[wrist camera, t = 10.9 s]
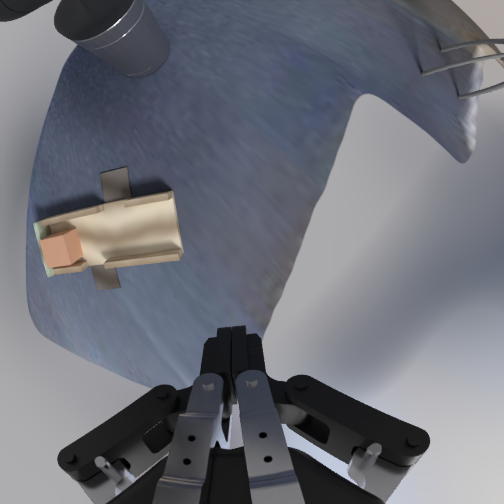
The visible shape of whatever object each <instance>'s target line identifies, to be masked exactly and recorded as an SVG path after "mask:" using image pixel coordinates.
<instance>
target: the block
mask: <svg viewBox="0 0 504 504" xmlns="http://www.w3.org/2000/svg"><path fill="white" fill-rule="evenodd" d="M40 245H41V249H42V252H43V256H44V259H45V262H46V266H47V268H53V267H59V266H66V265H71V264H73V263H74V262H75V261H77V260H78V259H80V258H81V257H82V256H84V255H83V251H82V247H81V243H80V240H79V236H78V231H77V228H75V229H70V230H66V231H62V232H58V233H53V234H51V235H49V236H48V237H46V238H44V239H42V240H40Z"/></svg>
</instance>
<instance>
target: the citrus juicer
mask: <svg viewBox="0 0 504 504" xmlns="http://www.w3.org/2000/svg"><path fill="white" fill-rule="evenodd" d="M479 44H504V39H485V40H476V41H470V42H465V43H460V44H456V45H452V46H449V47H446V48H443V49H441V50H440V51H441V52H442V53H443V52H446V51H449V50H452V49H456V48H460V47H465V46H471V45H479ZM501 57H502V58H501ZM494 58H501V59H500V60H503V61H504V53H501V54H494V55H488V56H482V57H477V58H472V59H467V60H463V61H459V62H455V63H451V64H447V65H444V66H440V67H437V68H434V69H431V70H427V71H424V72H422V73H421V75H422V76H425V75H428V74H432V73H435V72H438V71H442V70H445V69H449V68H452V67H456V66H460V65H464V64H468V63H473V62H478V61H483V60H488V59H494ZM501 88H504V82H502V83H499V84H497V85H494V86H491V87H489V88H485V89H482V90H479V91H475V92H471V93H468V94H463V95H458V98H459V99H463V98H469V97H473V96H477V95H481V94H485V93H488V92H492V91H495V90H498V89H501Z"/></svg>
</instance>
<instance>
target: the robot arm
mask: <svg viewBox="0 0 504 504" xmlns="http://www.w3.org/2000/svg"><path fill="white" fill-rule="evenodd" d="M50 1H52V0H0V21H1V22H6V21H12V20H15V19H18V18H21V17H23V16H25V15H27V14H29V13H30V12H32V11H34V10H36V9H38V8H39V7H41V6H43V5H45V4H47V3H49V2H50ZM54 25H55V28H56V29H57V31H58V32H59V33H60V34H62V35H63V36H65V37H66V38H68V39H70V40H72V41H73V42H75V43H76V44H78V45H80V46H81V47H83V48H85V49H86V50H88V51H89V52H91V53H92V54H94V55H95V56H97V57H98V58H100V59H101V60H103V61H104V62H106V63H107V64H109V65H110V66H112V67H113V68H114V69H116V70H117V71H119V72H120V73H122V74H123V75H125V76H127V77H130V78H140V77H144V76H147V75H150V74H151V73H153V72H155V71H156V70H157V69H159V68H160V67H161V66H162V65H163V63H164V62H165V61H166V59H167V57H168V55H169V50H170V44H169V41H168V39H167V37H166V36H165V34H164V32H163V30H162V29H161V27H160V26H159V24H158V22H157V21H156V19H155V17H154V16H153V14H152V12H151V11H150V9H149V7H148V6H147V4H146V3H145V1H144V0H61V2H60V4H59V5H58V7H57V10H56V13H55V16H54ZM237 399H238V404H239V409H240V423H241V429H242V436H243V443H244V446H243V447H239V448H235V449H230V437H231V426H232V405H233V404H237ZM160 421H161V422H160ZM159 422H160V423H159ZM281 423H282V424H286V425H287V426H288V427H289V428H290V429H291V430H293V431H294V432H296V433H297V434H299V435H300V436H302V437H303V438H305V439H306V440H308V441H309V442H311V443H313V444H314V445H316V446H318V447H319V448H321V449H322V450H324V451H326V452H327V453H329V454H331V455H333V456H334V457H336V458H338V459H339V460H341V461H343V462H345V463H347V464H348V469H347V470H348V475H349V476H350V478H351V479H353V480H354V481H355V482H356V483H357V484H358V486H357V485H355V484H353V483H351V482H350V481H348V480H347V479H345V478H343V477H342V476H340V475H339V474H337V473H335V472H334V471H332V470H331V469H329V468H328V467H326V466H324V465H323V464H321V463H320V462H318V461H317V460H316V459H314V458H313V457H311V456H310V455H308V454H306V453H305V452H303V451H300V450H298V449H295V448H291V447H287V444H286V440H285V436H284V433H283V429H282V425H281ZM156 424H157V425H156ZM155 425H156V426H155ZM154 426H155V427H154ZM151 428H152V429H151ZM150 429H151V430H150ZM147 431H148V432H147ZM146 432H147V433H146ZM429 444H430V437H429V435H428V433H427V432H426V431H425V430H423V429H421V428H419V427H416V426H414V425H411V424H409V423H407V422H404V421H402V420H399V419H397V418H395V417H392V416H390V415H388V414H385V413H383V412H381V411H379V410H377V409H374V408H372V407H370V406H368V405H366V404H364V403H362V402H360V401H358V400H355V399H353V398H351V397H349V396H347V395H345V394H343V393H341V392H339V391H337V390H335V389H333V388H331V387H329V386H327V385H326V384H324V383H322V382H320V381H318V380H316V379H314V378H312V377H310V376H308V375H297V376H293V377H291V378H290V379H288V380H287V382H284V381H277V380H274V379H272V378H270V377H269V376H268V375H267V373H266V369H265V362H264V355H263V348H262V341H261V338H260V337H259V336H258V335H257V334H256V333H255V334H247V331H246V325H244V326H234V327H223V328H218V329H217V337H213V338H208V340H207V341H206V342H205V344H204V349H203V357H202V363H201V370H200V376H198V377H197V378H196V379H195V381H194V383H193V385H192V386H190V387H188V388H185V389H181V390H176V389H175V388H174V387H173V386H171V385H159V386H156V387H154V388H153V389H151V390H150V391H149V392H148V393H146V394H145V395H143V396H142V397H140V398H139V399H137V400H136V401H135V402H133V403H132V404H130V405H129V406H128V407H126V408H125V409H123V410H122V411H120V412H119V413H117V414H116V415H114V416H113V417H111V418H110V419H108V420H107V421H105V422H104V423H103V424H101V425H99V426H98V427H96V428H95V429H93V430H92V431H90V432H89V433H87V434H86V435H84V436H83V437H81V438H79V439H78V440H76V441H75V442H73V443H72V444H70V445H69V446H67V447H65V448H64V449H62V450H61V451H60V452H59V455H58V458H57V460H58V464H59V466H60V467H61V468H62V469H63V470H64V471H65V472H66V473H67V474H69V475H70V476H71V478H72V479H74V480H75V481H76V482H78V483H79V484H80V486H81V487H82V488H83V490H84V491H85V493H86V494H87V495H88V497H89V498H90V499H91V501H92V502H93V503H94V504H385V502H386V501H387V500H388V498H389V497H390V496H391V494H392V493H393V492H394V490H395V489H396V487H397V486H398V485H399V483H400V482H401V480H402V479H403V478H404V476H405V475H406V474H407V473H408V472H409V471H410V470H411V468H412V467H413V466H414V465H415V464H416V463H417V461H418V460H419V459H420V458H421V456H422V455H423V454H424V453H425V451H426V450H427V449H428V447H429ZM168 452H169V455H168V456H166V457H165V458H164V459H162V460H160V461H159V462H158V463H157V464H156V465H155V466H153V467H152V468H151V469H150V470H149V471H147V472H146V473H145V474H144V475H142V476H141V477H140V478H139V479H138V480H136V481H135V478H136V477H137V476H139V475H140V474H141V473H143V472H144V471H145V470H147V469H148V468H149V467H150V466H152V465H153V464H154V463H156V461H158V460H159V459H161V458H162V457H163V456H164V455H166V454H167V453H168Z"/></svg>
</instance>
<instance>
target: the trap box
mask: <svg viewBox="0 0 504 504" xmlns="http://www.w3.org/2000/svg"><path fill="white" fill-rule="evenodd" d="M100 176H101V183H102V189H103V195H104V201H105V204H100V205H96V206H92V207H87V208H83V209H79V210H75V211H71V212H67V213H63V214H59V215H55V216H52V217H48V218H45V219H43V220H40V221H38V222H36V223H33V225H34V229H35V233H36V237H37V241H38V245H39V249H40V253H41V256H42V260H43V263H44V267H45V270H46V273H47V276H48V277H52V276H53V275H56V274H64V273H73V272H82V271H83V270H84V269H85V268H87V267H88V266H91V269H92V273H93V276H94V279H95V282H96V285H97V289H98V290H102V289H115V288H121V286H120V283H119V280H118V276H117V273H116V269H115V268H116V267H125V266H133V265H142V264H150V263H159V262H168V261H176V260H180V258H181V256H182V254H183V253H184V252H183V247H182V241H181V236H180V230H179V224H178V218H177V212H176V206H175V199H174V193H173V191H167V192H161V193H156V194H150V195H145V196H139V197H134V198H132V195H131V189H130V182H129V175H128V168H127V167H126V168H121V169H117V170H113V171H109V172H105V173H102V174H100ZM75 228H77V231H78V236H79V240H80V243H81V247H82V251H83V255H84V256H82V257H81V258H80V259H78V260H77V261H75V262H74V263H73V264H71V265H66V266H59V267H53V268H47V266H46V262H45V259H44V256H43V252H42V249H41V245H40V240H42V239H44V238H46V237H48V236H49V235H51V234H53V233H58V232H62V231H66V230H70V229H75Z"/></svg>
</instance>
